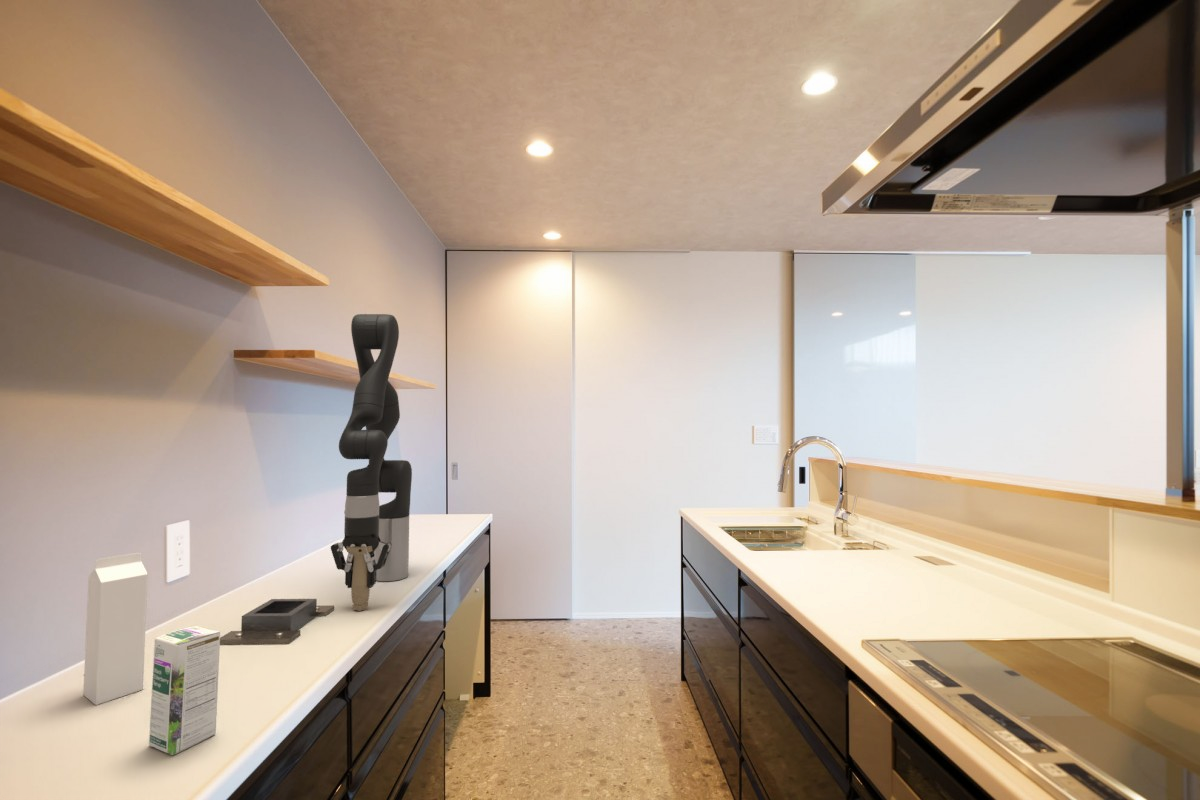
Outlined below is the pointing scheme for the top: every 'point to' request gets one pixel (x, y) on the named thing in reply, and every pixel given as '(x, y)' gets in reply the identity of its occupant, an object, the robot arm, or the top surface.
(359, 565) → the handle
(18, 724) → the top surface
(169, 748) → the syrup box
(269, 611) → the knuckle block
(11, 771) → the top surface
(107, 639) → the milk
